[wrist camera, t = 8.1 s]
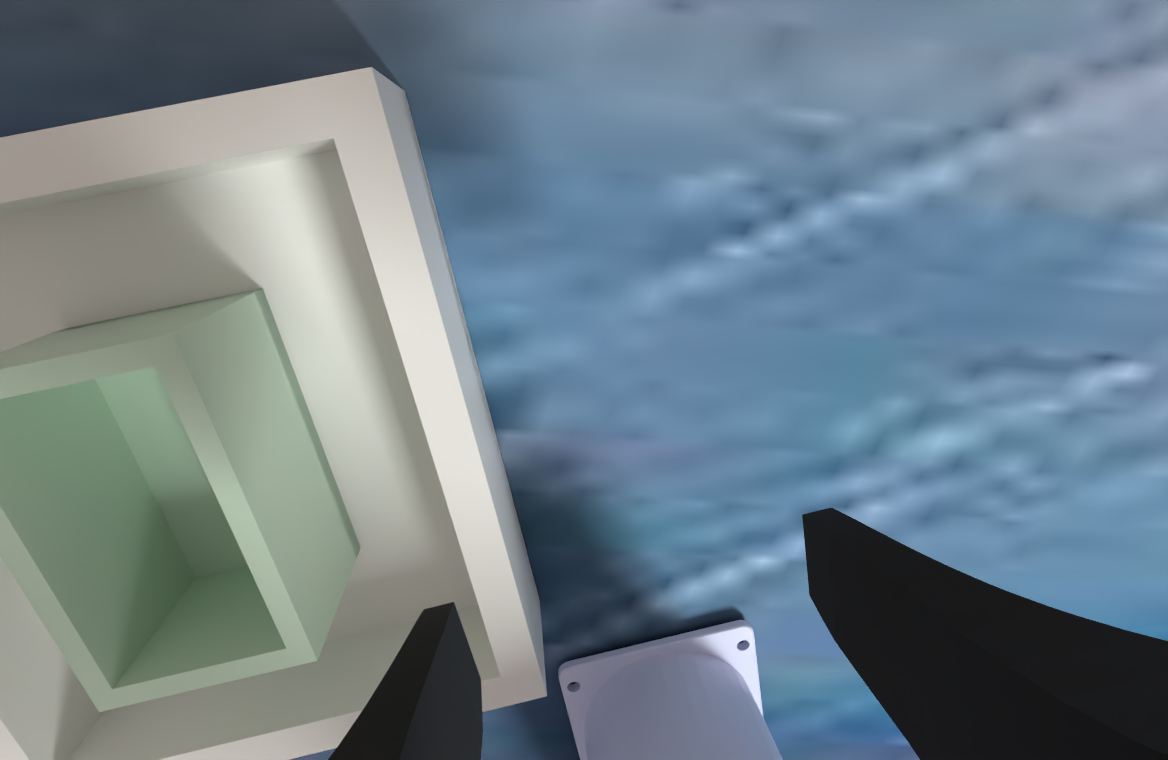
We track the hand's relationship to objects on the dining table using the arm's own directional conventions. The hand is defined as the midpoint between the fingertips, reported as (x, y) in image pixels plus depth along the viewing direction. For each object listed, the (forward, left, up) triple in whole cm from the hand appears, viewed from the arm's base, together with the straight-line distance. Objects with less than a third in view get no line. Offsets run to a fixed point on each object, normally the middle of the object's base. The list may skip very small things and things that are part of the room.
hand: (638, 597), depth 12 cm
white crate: (+2, +11, -9) cm, 15 cm away
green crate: (+2, +11, -8) cm, 14 cm away
